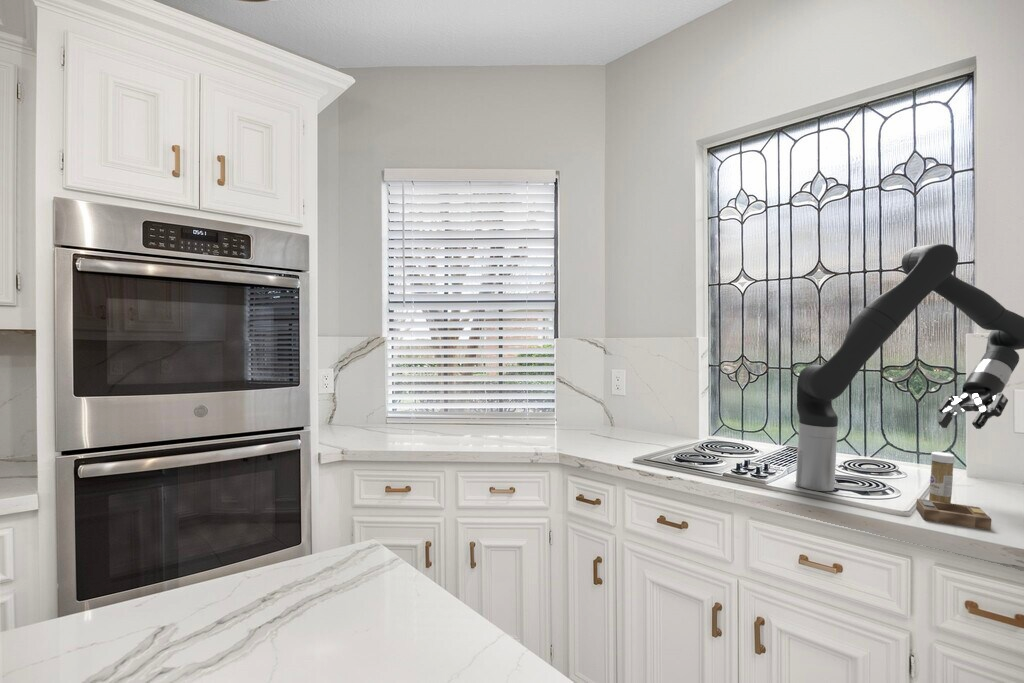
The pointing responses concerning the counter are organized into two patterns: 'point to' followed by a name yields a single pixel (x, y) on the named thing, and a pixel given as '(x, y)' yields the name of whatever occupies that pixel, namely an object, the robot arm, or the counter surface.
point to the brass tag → (977, 511)
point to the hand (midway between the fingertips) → (958, 426)
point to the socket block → (953, 514)
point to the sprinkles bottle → (941, 477)
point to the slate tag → (927, 504)
